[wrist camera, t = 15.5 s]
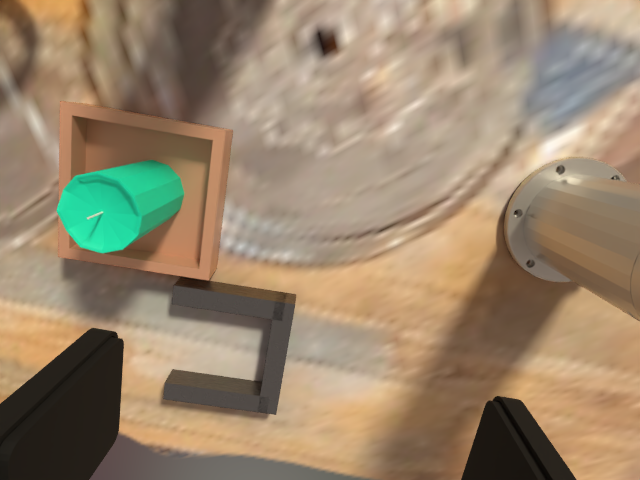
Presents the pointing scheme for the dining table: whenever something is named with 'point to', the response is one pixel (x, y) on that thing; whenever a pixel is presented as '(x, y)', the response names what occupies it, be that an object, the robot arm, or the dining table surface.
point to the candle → (119, 204)
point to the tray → (162, 146)
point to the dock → (226, 388)
